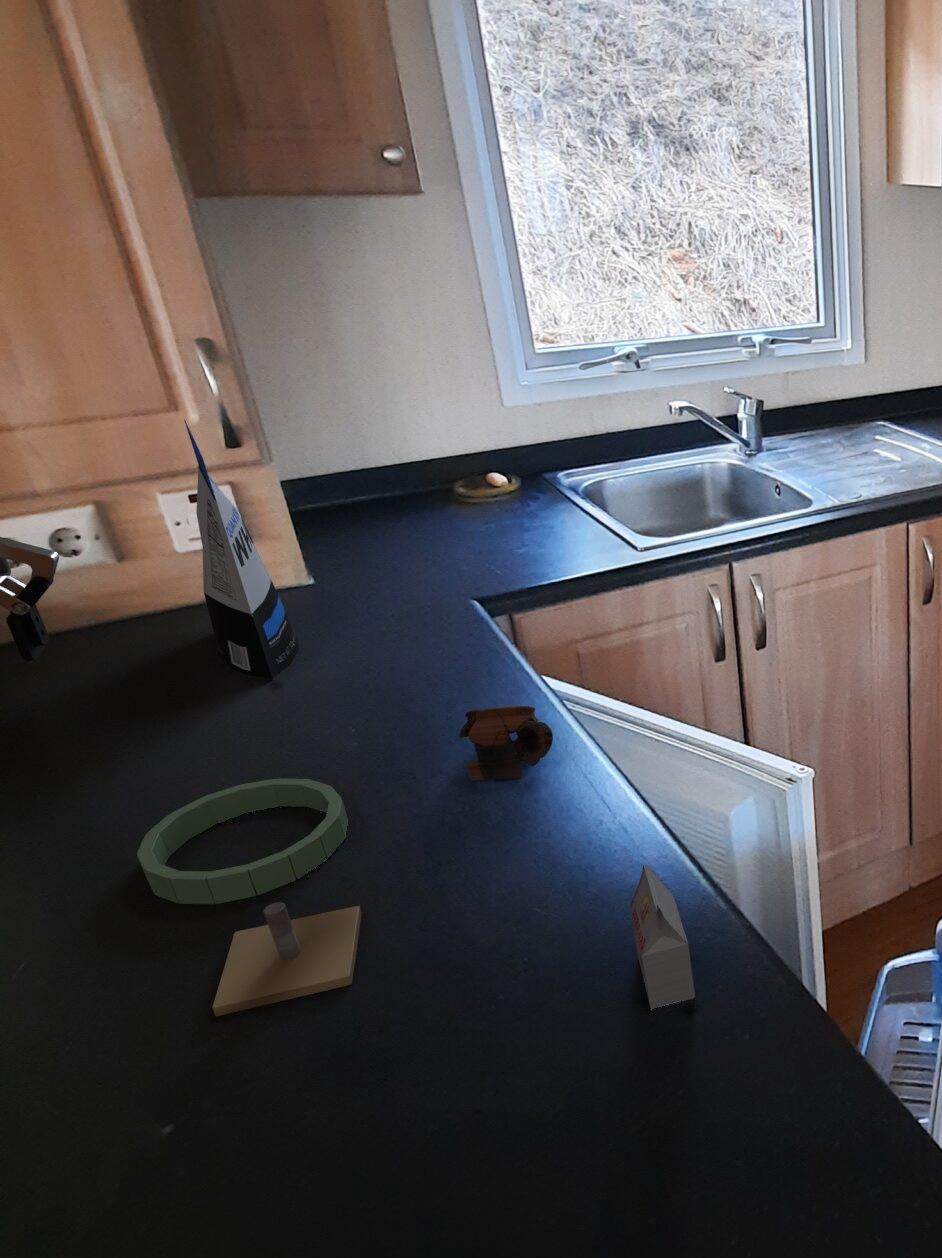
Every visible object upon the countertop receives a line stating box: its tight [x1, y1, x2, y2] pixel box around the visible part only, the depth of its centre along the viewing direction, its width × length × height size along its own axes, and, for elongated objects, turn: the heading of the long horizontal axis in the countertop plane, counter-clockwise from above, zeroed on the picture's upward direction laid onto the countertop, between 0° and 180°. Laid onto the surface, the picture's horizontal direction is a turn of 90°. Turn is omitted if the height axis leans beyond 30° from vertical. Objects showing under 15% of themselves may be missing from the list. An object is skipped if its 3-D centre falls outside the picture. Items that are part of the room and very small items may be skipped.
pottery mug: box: [458, 705, 554, 782], centre depth 121 cm, size 12×10×8 cm
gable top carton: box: [629, 862, 696, 1011], centre depth 89 cm, size 4×7×10 cm, turn 24°
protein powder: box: [183, 418, 300, 681], centre depth 141 cm, size 10×24×30 cm, turn 38°
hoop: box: [136, 778, 349, 905], centre depth 106 cm, size 17×17×3 cm
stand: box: [211, 901, 363, 1017], centre depth 91 cm, size 10×10×6 cm
